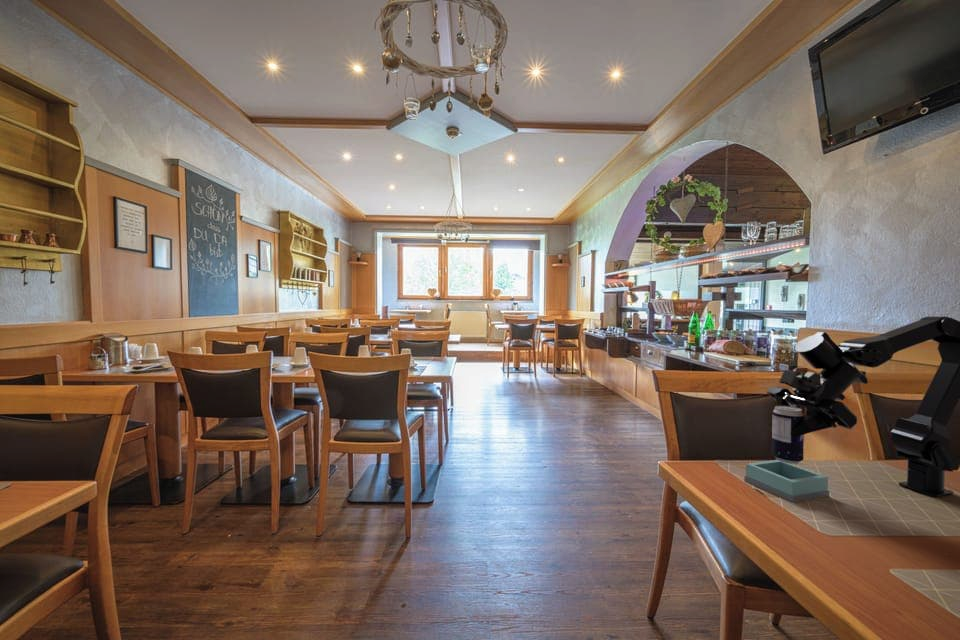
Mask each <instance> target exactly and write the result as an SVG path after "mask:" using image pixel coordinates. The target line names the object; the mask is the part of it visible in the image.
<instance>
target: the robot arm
mask: <svg viewBox="0 0 960 640" xmlns="http://www.w3.org/2000/svg"><path fill="white" fill-rule="evenodd" d="M929 340H931V341H933V342H935V343H937V344H938V345H937V350H938V354H939V356H940V359H941V361H940V363H939V365H938V368H937V370H936V372H935V374H934V376H933V377H932V380H931V382H930V383H929V386H928V387H927V389H926V392H925V394H924V395H923V398H922V400H921V402H920V404H919V406H918V407H917V410H916V411H915V414H914V415H913V416H910V417H908V418H907V419H906V418H903V417H898V419H897V420H896V422H895V425H894V427H893V428H892V430H891V431H890V433H891V437H890V442H891V443H892V445H893V449H894V452H895V454H896V456H897V457H898V458H902V459H905V460H907V466H906V468H907V469H906V481H901V482H900V481H899V482H898V484H899V485H898V486H900V485H902V486H901V487H903V486H905V487H904V488H906V487H908V488H907V489H910V488H911V490H913V489H914V490H913V491H916V492H919V493H923V494H925V495H928V496H932V497H936V498H939V497H944V496H948V495H947V494H950V495H952V494H951V493H953V494H954V491H952V490H950V489H947V488H945V486H946V484H945V481H946V472H954V471H958V470H959V468H960V459H959V457H958V456H956V454H954V453H953V452H952V450H951V449H950V448H949V446H950V443H951V437H950V434H949V431H948V428H947V424H948V422H949V420H950V418H951V417H952V415H953V413H954V411H955V408H956V406H957V404H958V402H959V401H960V321H959V320H957V319H955V318H952V317H949V316H932V315H931V316H929V315H928V316H924V317H921V318H919V320H916V321H913V322H910V323H908V324H905V325H903V326H900V327H897V328H895V329H891V330H890V331H887V332H884V333H881V334H879V335H874V336H867V337H857V338H852V339H847V340H843V341H842V342H841V343H839V345H838V344H836V343H835V341H833V340H832V338H831V337H830V336H829V334H828V333H827V332H826V331H825V332H824V331H817V332H815V334H813V335H810V336H806V337H805V338H803V339H801V340H799V341H798V342H797V343H796V344H795V347H794V349H795V350H796V352H797V353H799V355H800V356H801V357H802V358H803V359H804V360H805V361H806V362H807V363H808V364H809V365H810V366H811V367H812V368H813V369H816V370H817V369H818V370H820V372H818V373H816V372H812V371H807V372H806V373H802V372H798V371H795V370H789V369H784V371H782V374H781V377H780V378H779V380H778V382H779V383H781V384H785V385H786V386H789V387H791V388H792V389H791V391H792V392H793V393H794V394H793V393H792V392H791V391H790V390H789V389H788V388H785V387H781V386H776V385H775V386H774V385H773V386H771V387H770V388H769V389H768V390H767V391H766V394H768V396H770V397H771V399H773V400H774V401H775V403H776V406H790V407H795V408H799V409H800V408H804V409H806V410H805V411H806V412H805V414H804V417H803V418H802V419H801V421H800V422H799V423H798V424H797V425H796V426H795V427H794V429H793V430H792V432H791V435H792V436H793V437H797V436H800V435H804V436H805V435H807V434H811V433H814V432H818V431H822V430H826V429H829V428H833V429H835V428H837V427H838V426H839V427H841V428H845V429H848V430H852V429H853V428H854V427H855V426H856V425H857V422H858V416H856V415H855V414H854V412H853V411H852V410H850V409H849V408H848V406H846V404H845V403H844V402H843V401H844V400H845V398H846V396H845V395H844V394H843V393H845V392H846V391H847V390H848V389H849V388H850V386H852V384H853V383H858V384H865V385H867V384H868V377H867V375H866V374H867V373H866V371H863V370H859V368H857V366H858V367H866V368H878V367H880V366H881V365H884V364H885V363H887V362H889V361H890V360H891V359H892V358H893V357H894V355H895V354H896V353H897V352H900V351H903V350H905V349H908V348H911V347H914V346H917V345H919V344H922V343H924V342H927V341H929ZM795 394H796V395H797V396H795ZM769 426H770V428H772V421H771V422H770V425H769ZM943 495H944V496H943Z"/></svg>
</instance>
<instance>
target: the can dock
mask: <svg viewBox="0 0 960 640" xmlns="http://www.w3.org/2000/svg"><path fill="white" fill-rule="evenodd" d="M743 479H744V480H743V481H744V482H747V483H749V484H751V485H753V486H755V487H757V488H760V489H762V490H764V491H765V492H768V493H771V494H773V495H775V496H778V497H779V498H781V499H784V500H786V501H788V502H790V503H797V502H804V501H809V500H813V499H820V498H825V497H826V498H827V497H830V490H829V489H828V488H829V476H826V475H824V474H821V473H819V472H816V471H812V470H809V469H806V468H804V467H801V466H798V465H797V464H790V463H785V462H781V461H779V460H777V459H774V460H764V461H757V462H751V463H750V462H749V463H746V464H745V475H744V478H743Z"/></svg>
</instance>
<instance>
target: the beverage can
mask: <svg viewBox="0 0 960 640" xmlns="http://www.w3.org/2000/svg"><path fill="white" fill-rule="evenodd" d="M804 416H805V414H804V413H803V410H802V408H800V407H799V408H795V407H790V406H777V405H776V406H774V409H773V410H772V416H771V417H772V420H771V422H772V427H771V432H772V434H771V454H772V456H773V457H774V458H775V460H779V461H781V462H785V463H790V464H793V465H797V464H799V463H800V462H802V461H804V444H805V441H804V439H805V438H804V437H805V434H804V435H800V436H797V437H793V436H792V435H791V432H792V430H793V429H794V427H795V426H796V425H797V424H798V423H799V422H800V421H801V419H802V418H803V417H804Z"/></svg>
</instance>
